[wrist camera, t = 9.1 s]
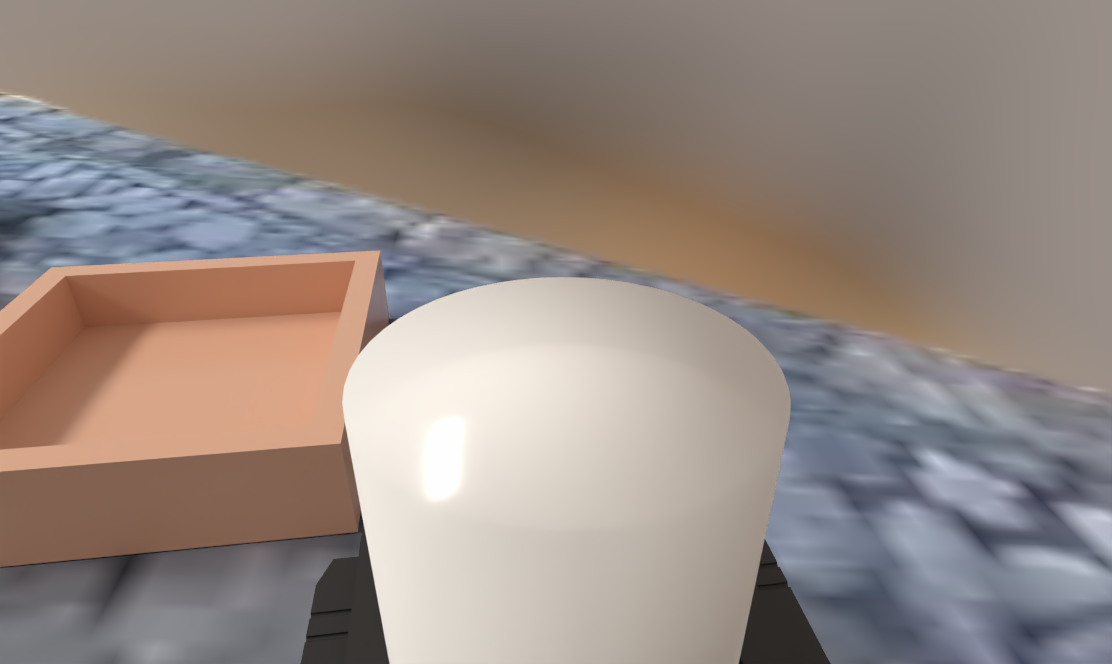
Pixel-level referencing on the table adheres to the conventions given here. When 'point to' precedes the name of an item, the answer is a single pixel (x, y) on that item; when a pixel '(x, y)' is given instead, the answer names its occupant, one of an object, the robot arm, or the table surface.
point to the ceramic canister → (565, 475)
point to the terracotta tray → (181, 404)
